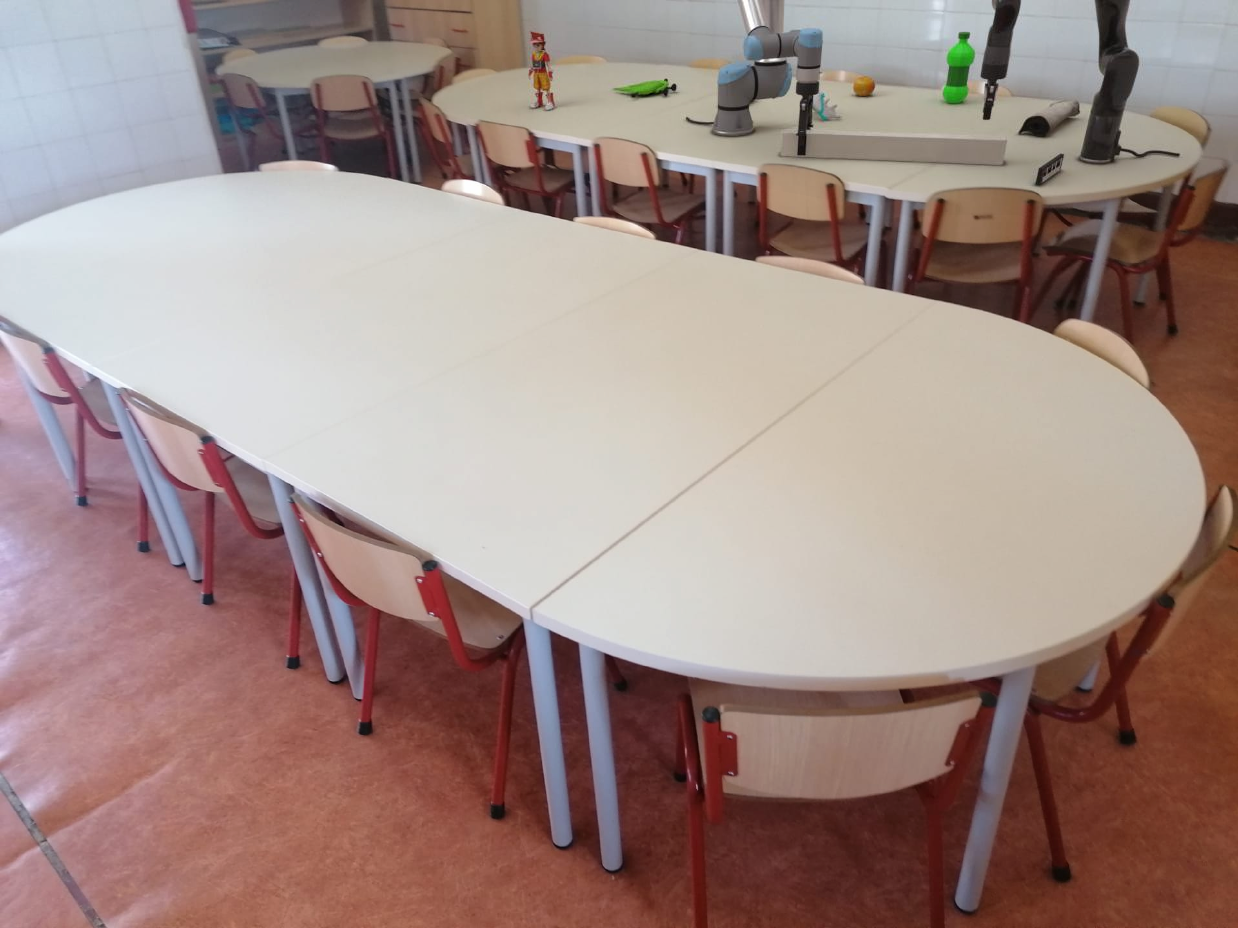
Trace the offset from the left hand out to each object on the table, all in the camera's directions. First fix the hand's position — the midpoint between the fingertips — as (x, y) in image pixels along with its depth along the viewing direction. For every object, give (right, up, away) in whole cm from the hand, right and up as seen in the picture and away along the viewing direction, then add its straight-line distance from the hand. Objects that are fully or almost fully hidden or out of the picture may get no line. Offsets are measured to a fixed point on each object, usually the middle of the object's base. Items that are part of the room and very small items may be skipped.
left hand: (803, 151), depth 307 cm
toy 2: (-54, +58, +90) cm, 120 cm away
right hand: (+53, +3, -24) cm, 58 cm away
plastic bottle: (+70, +36, +48) cm, 92 cm away
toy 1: (-96, +45, +76) cm, 130 cm away
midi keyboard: (+69, -19, -32) cm, 78 cm away
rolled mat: (+91, +14, +14) cm, 93 cm away
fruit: (+38, +46, +65) cm, 88 cm away
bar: (+27, -5, -7) cm, 28 cm away
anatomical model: (+16, +28, +41) cm, 52 cm away
